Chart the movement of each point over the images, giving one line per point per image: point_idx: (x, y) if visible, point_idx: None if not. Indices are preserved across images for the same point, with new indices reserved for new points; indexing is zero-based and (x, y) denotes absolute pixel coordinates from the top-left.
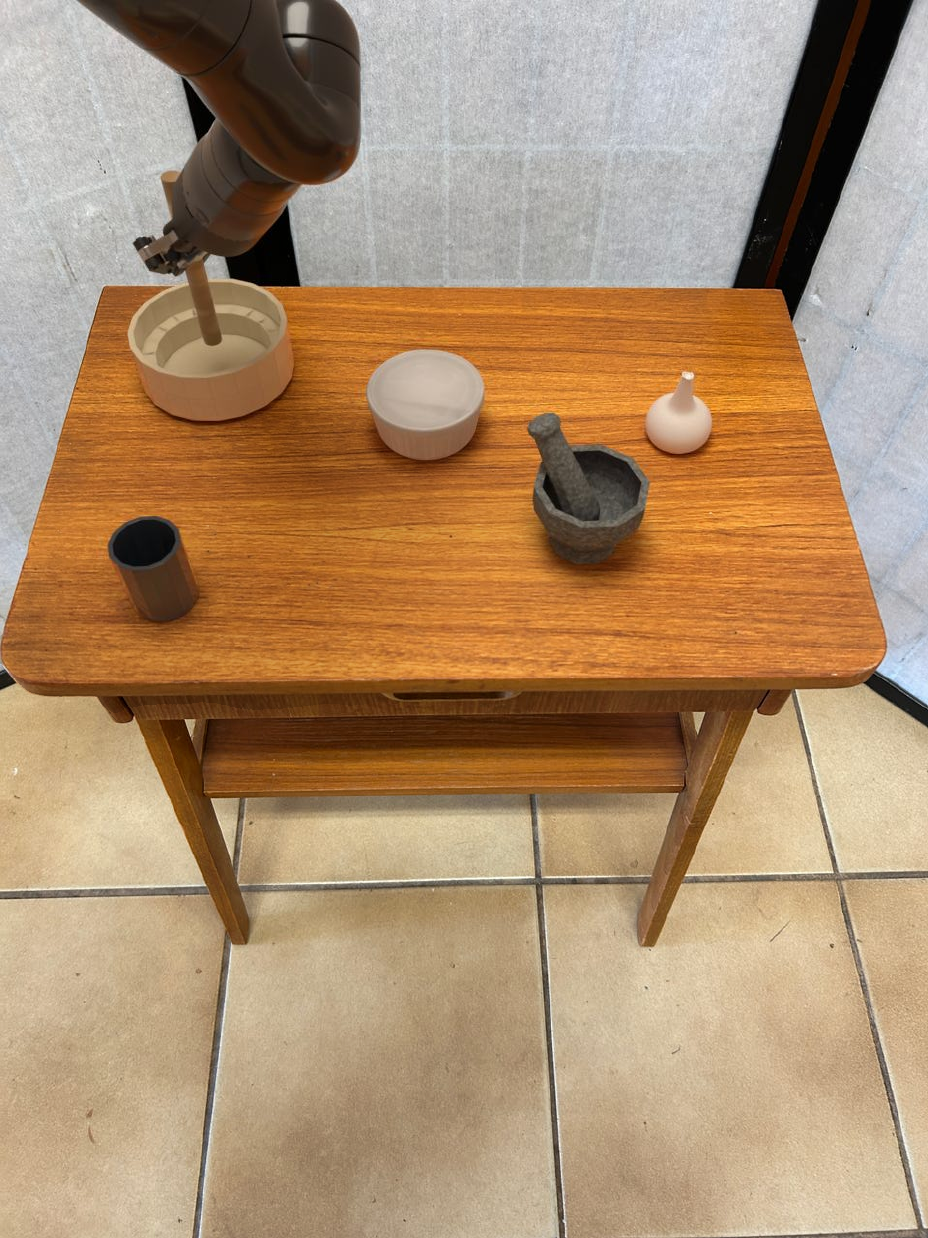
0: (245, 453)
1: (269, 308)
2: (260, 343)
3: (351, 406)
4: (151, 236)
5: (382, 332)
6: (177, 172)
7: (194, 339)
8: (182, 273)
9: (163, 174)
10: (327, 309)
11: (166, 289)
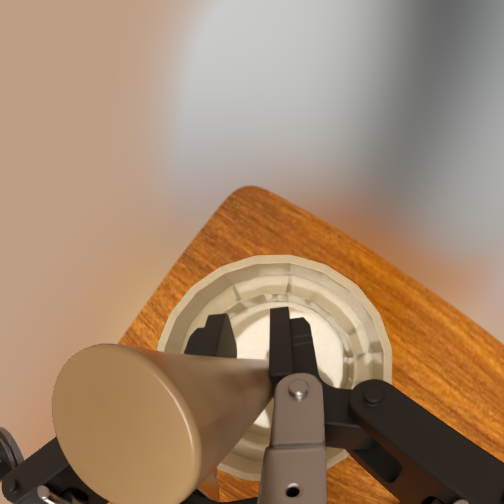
0: (232, 488)
1: (377, 357)
2: (345, 353)
3: (368, 489)
4: (41, 498)
5: (463, 393)
6: (172, 438)
7: (279, 301)
8: (236, 357)
9: (76, 371)
10: (439, 325)
11: (260, 256)
